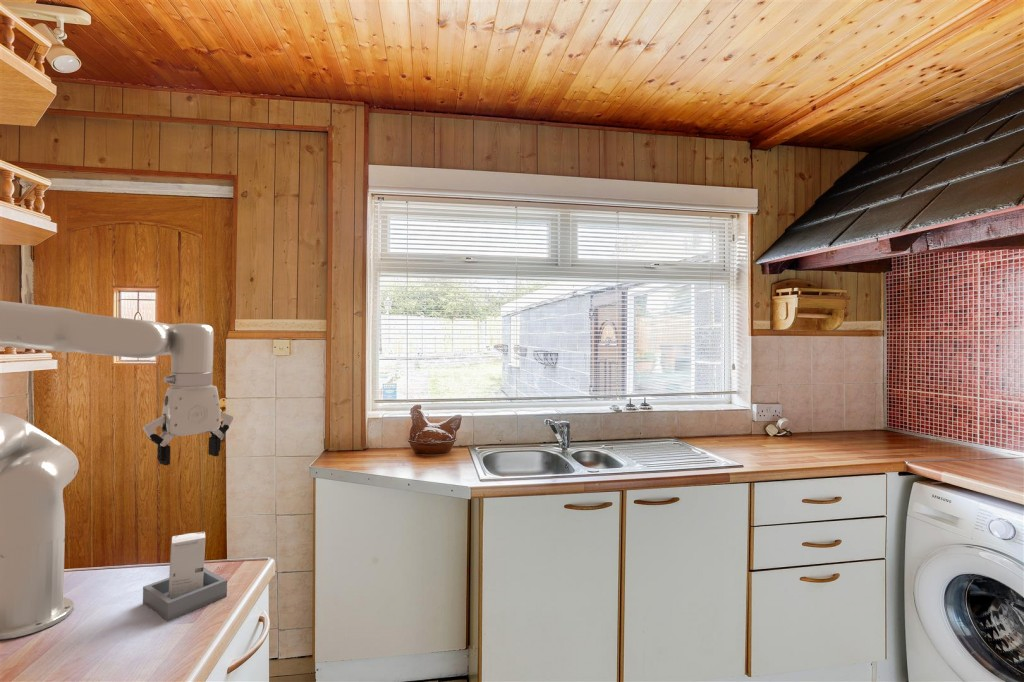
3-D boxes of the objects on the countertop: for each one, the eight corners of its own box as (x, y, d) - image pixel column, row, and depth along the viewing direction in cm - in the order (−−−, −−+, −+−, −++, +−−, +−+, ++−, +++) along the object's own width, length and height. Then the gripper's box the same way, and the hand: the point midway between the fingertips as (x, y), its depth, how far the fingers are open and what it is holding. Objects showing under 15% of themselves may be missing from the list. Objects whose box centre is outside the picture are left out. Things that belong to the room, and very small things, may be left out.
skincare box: (167, 603, 97) (169, 543, 97) (168, 593, 101) (170, 536, 101) (204, 595, 101) (205, 537, 101) (203, 586, 104) (205, 530, 104)
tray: (142, 603, 99) (143, 586, 99) (200, 581, 108) (201, 566, 108) (167, 621, 93) (168, 603, 93) (226, 596, 102) (227, 580, 102)
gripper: (153, 384, 95) (151, 471, 95) (241, 379, 110) (239, 454, 110) (136, 381, 99) (134, 465, 99) (224, 377, 114) (222, 450, 114)
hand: (190, 459), depth 104 cm, fingers open, 9 cm apart
